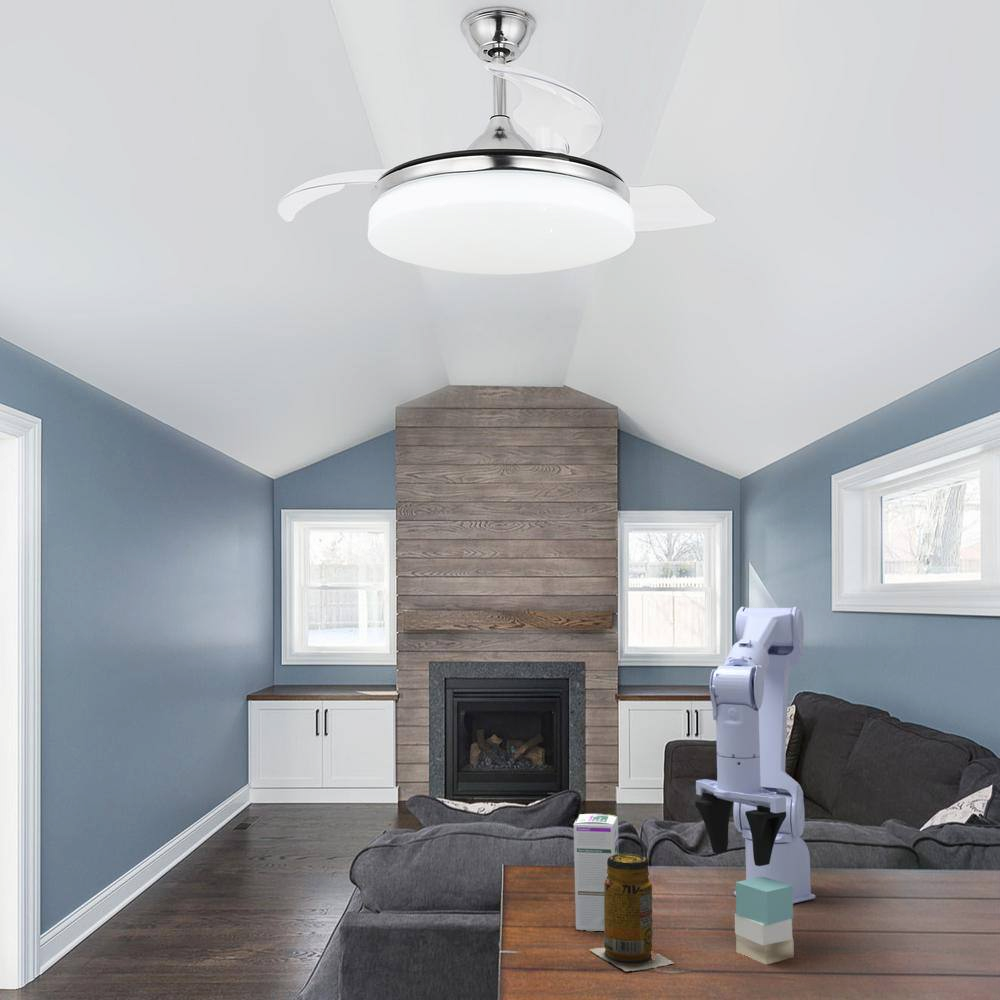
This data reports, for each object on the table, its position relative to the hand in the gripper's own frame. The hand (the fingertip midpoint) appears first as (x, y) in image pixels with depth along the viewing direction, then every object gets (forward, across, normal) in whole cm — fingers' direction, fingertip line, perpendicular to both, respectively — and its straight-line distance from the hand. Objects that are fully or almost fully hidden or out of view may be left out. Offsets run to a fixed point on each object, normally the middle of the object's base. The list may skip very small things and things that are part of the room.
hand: (740, 858), depth 132 cm
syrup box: (+10, -14, -13) cm, 22 cm away
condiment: (+10, -2, -17) cm, 20 cm away
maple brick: (+11, +6, -2) cm, 12 cm away
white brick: (+8, +6, -2) cm, 10 cm away
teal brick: (+6, +6, -2) cm, 8 cm away
